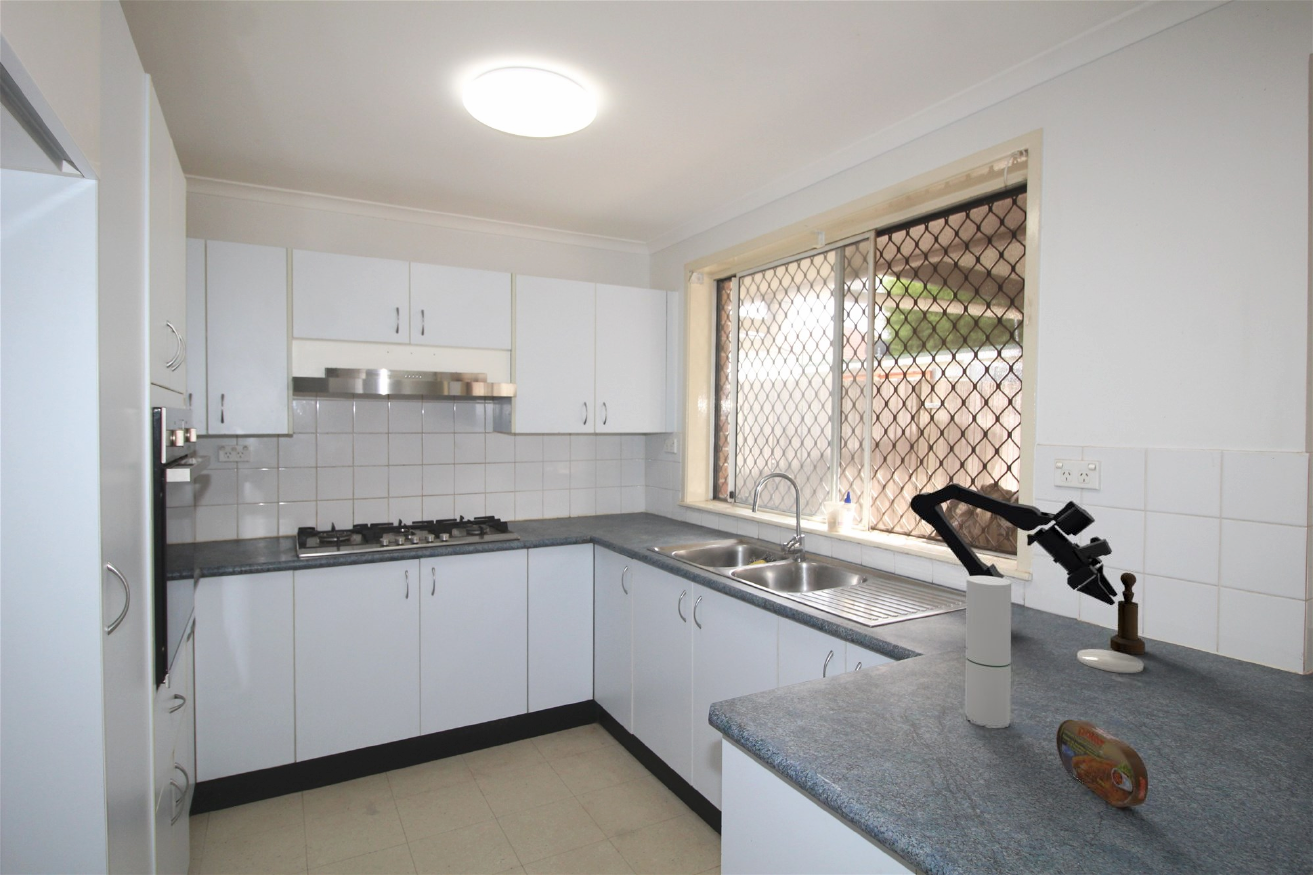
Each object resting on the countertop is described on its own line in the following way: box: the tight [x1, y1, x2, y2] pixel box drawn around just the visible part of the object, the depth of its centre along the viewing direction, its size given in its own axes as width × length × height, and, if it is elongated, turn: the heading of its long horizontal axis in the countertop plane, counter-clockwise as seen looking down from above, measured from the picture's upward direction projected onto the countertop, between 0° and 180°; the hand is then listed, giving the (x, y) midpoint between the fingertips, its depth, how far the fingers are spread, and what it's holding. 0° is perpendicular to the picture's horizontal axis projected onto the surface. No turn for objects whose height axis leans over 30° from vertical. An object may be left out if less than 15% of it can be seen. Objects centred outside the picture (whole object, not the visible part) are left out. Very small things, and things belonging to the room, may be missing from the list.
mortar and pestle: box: [1109, 572, 1146, 655], centre depth 155 cm, size 7×6×18 cm
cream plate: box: [1076, 648, 1144, 674], centre depth 147 cm, size 12×12×1 cm
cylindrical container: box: [964, 576, 1012, 726], centre depth 119 cm, size 7×7×25 cm
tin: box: [1055, 719, 1149, 808], centre depth 96 cm, size 15×3×8 cm, turn 5°
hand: (1114, 599), depth 157 cm, fingers open, 9 cm apart
